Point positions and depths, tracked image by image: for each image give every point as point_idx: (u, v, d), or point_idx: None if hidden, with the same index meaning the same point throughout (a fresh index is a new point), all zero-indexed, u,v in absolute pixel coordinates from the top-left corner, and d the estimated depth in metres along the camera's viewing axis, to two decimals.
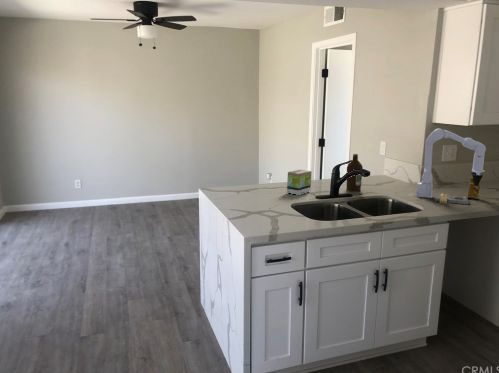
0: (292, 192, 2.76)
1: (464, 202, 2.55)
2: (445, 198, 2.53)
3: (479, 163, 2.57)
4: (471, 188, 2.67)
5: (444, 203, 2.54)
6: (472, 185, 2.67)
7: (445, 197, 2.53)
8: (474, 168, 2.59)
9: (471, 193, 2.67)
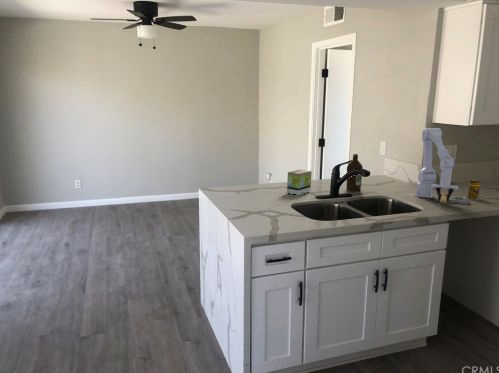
0: (292, 192, 2.76)
1: (464, 202, 2.55)
2: (445, 198, 2.53)
3: None
4: (471, 190, 2.66)
5: (444, 203, 2.54)
6: (472, 187, 2.66)
7: (445, 197, 2.53)
8: None
9: (471, 195, 2.67)
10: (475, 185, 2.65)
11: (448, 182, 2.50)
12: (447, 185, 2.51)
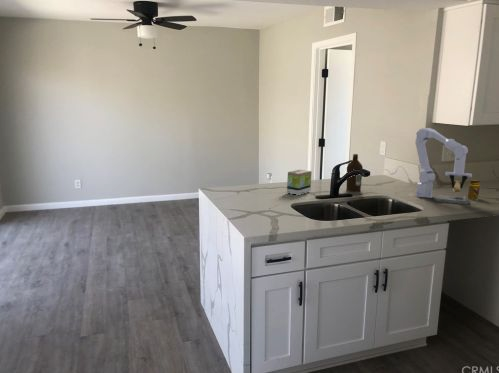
0: (292, 192, 2.76)
1: (464, 202, 2.55)
2: (459, 185, 2.55)
3: (454, 165, 2.56)
4: (471, 190, 2.66)
5: (458, 190, 2.56)
6: (472, 187, 2.66)
7: (459, 184, 2.55)
8: None
9: (471, 195, 2.67)
10: (475, 185, 2.65)
11: (462, 169, 2.53)
12: (461, 172, 2.53)
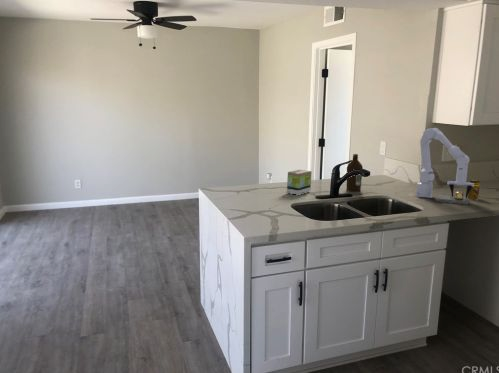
0: (292, 192, 2.76)
1: (464, 202, 2.55)
2: (460, 196, 2.58)
3: (456, 174, 2.58)
4: (471, 190, 2.66)
5: None
6: (472, 187, 2.66)
7: (460, 195, 2.58)
8: None
9: (471, 195, 2.67)
10: (475, 185, 2.65)
11: (464, 179, 2.55)
12: (463, 182, 2.56)
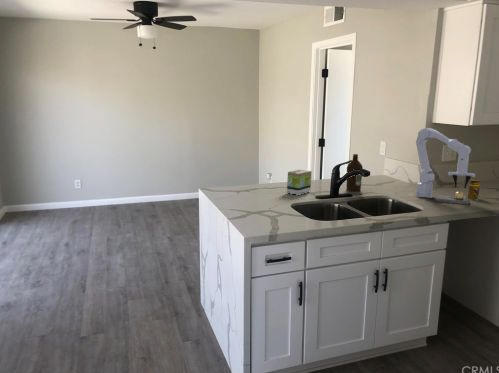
0: (292, 192, 2.76)
1: (464, 202, 2.55)
2: (460, 196, 2.58)
3: (457, 165, 2.57)
4: (471, 190, 2.66)
5: None
6: (472, 187, 2.66)
7: (460, 195, 2.58)
8: None
9: (471, 195, 2.67)
10: (475, 185, 2.65)
11: (465, 169, 2.54)
12: (464, 172, 2.54)
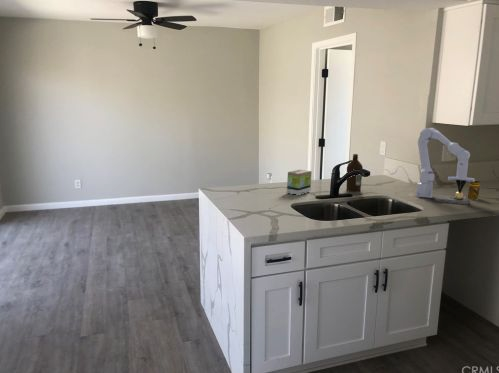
0: (292, 192, 2.76)
1: (464, 202, 2.55)
2: (460, 196, 2.58)
3: (457, 170, 2.58)
4: (471, 190, 2.66)
5: None
6: (472, 187, 2.66)
7: (460, 195, 2.58)
8: None
9: (471, 195, 2.67)
10: (475, 185, 2.65)
11: (465, 174, 2.55)
12: (464, 177, 2.55)
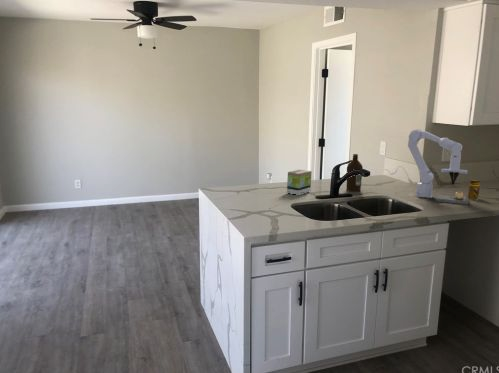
0: (292, 192, 2.76)
1: (464, 202, 2.55)
2: (460, 196, 2.58)
3: (450, 162, 2.62)
4: (471, 190, 2.66)
5: None
6: (472, 187, 2.66)
7: (460, 195, 2.58)
8: None
9: (471, 195, 2.67)
10: (475, 185, 2.65)
11: (457, 166, 2.59)
12: (456, 169, 2.60)
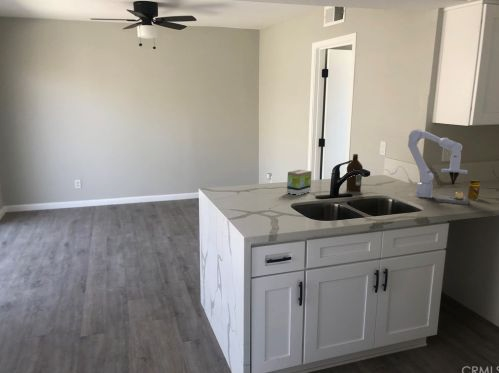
0: (292, 192, 2.76)
1: (464, 202, 2.55)
2: (460, 196, 2.58)
3: (450, 162, 2.62)
4: (471, 190, 2.66)
5: None
6: (472, 187, 2.66)
7: (460, 195, 2.58)
8: None
9: (471, 195, 2.67)
10: (475, 185, 2.65)
11: (457, 166, 2.59)
12: (456, 169, 2.60)
